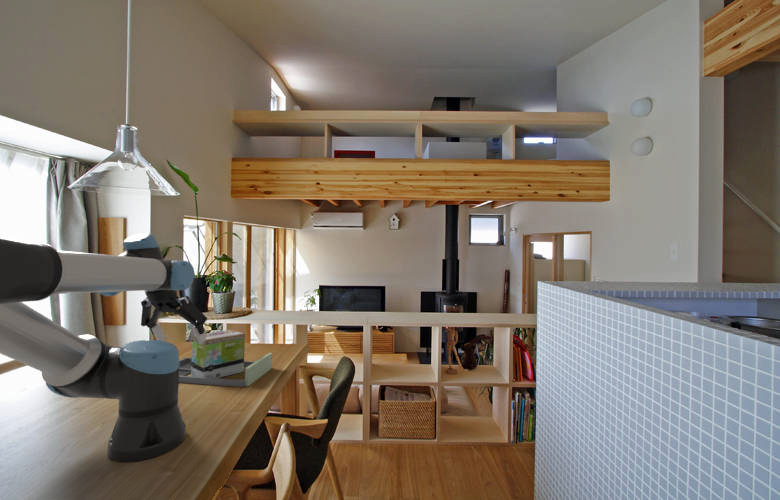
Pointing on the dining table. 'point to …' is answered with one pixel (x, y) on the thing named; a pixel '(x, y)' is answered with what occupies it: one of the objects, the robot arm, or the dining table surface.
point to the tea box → (218, 354)
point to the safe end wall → (258, 369)
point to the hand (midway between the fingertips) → (182, 341)
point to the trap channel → (186, 370)
